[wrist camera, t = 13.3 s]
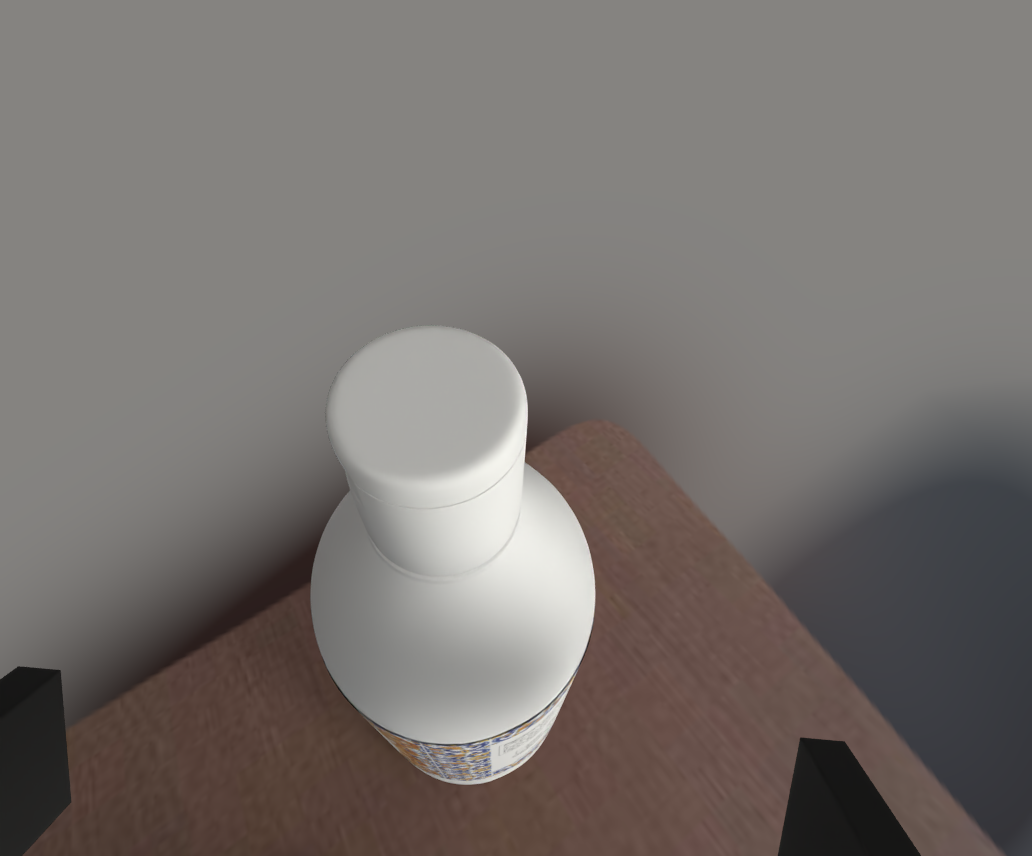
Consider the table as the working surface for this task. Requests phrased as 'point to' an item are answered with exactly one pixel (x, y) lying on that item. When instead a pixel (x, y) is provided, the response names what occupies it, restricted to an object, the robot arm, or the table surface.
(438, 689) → the bath foam
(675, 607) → the table surface
